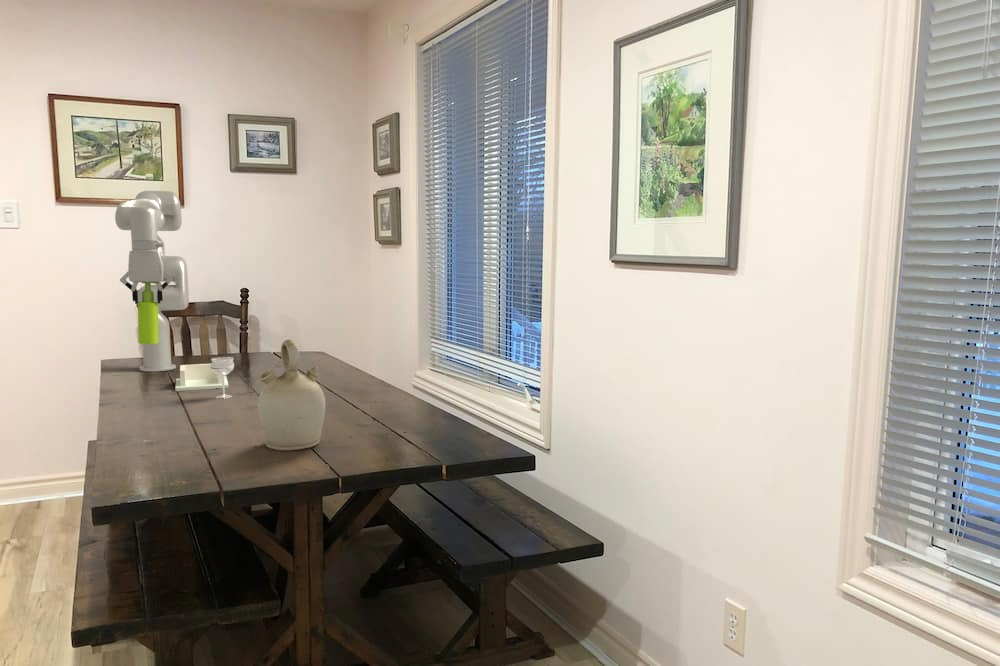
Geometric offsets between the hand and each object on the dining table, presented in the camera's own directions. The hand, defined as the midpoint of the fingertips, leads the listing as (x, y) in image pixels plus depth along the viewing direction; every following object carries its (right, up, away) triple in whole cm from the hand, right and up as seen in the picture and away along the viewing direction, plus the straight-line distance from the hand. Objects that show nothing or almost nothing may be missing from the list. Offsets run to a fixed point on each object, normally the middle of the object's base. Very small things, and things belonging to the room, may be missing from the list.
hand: (147, 302), depth 238 cm
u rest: (+13, -27, +11) cm, 32 cm away
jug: (+64, -36, -62) cm, 96 cm away
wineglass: (+27, -30, -8) cm, 41 cm away
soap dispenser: (0, -13, +2) cm, 13 cm away
